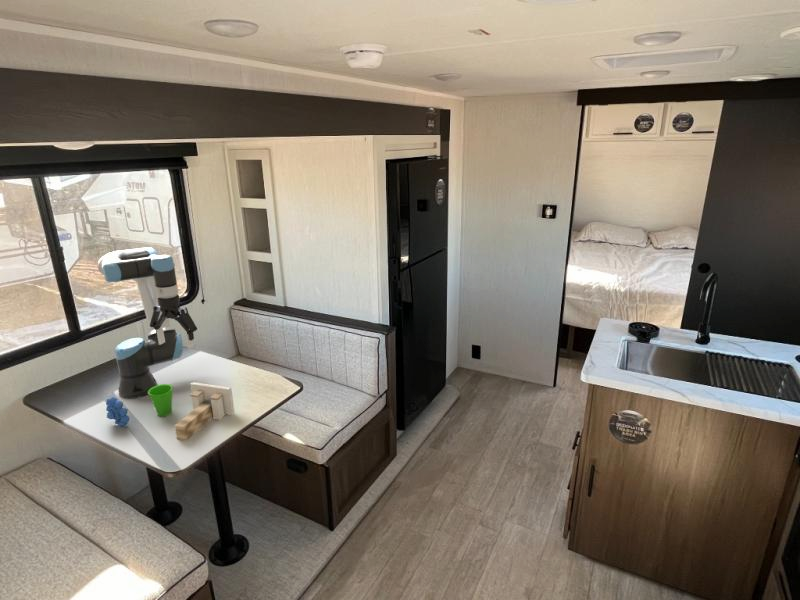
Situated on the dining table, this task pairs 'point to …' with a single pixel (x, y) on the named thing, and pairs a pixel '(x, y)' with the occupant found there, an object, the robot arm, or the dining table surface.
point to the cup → (162, 398)
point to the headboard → (213, 398)
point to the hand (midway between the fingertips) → (176, 345)
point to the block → (194, 421)
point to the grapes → (117, 411)
